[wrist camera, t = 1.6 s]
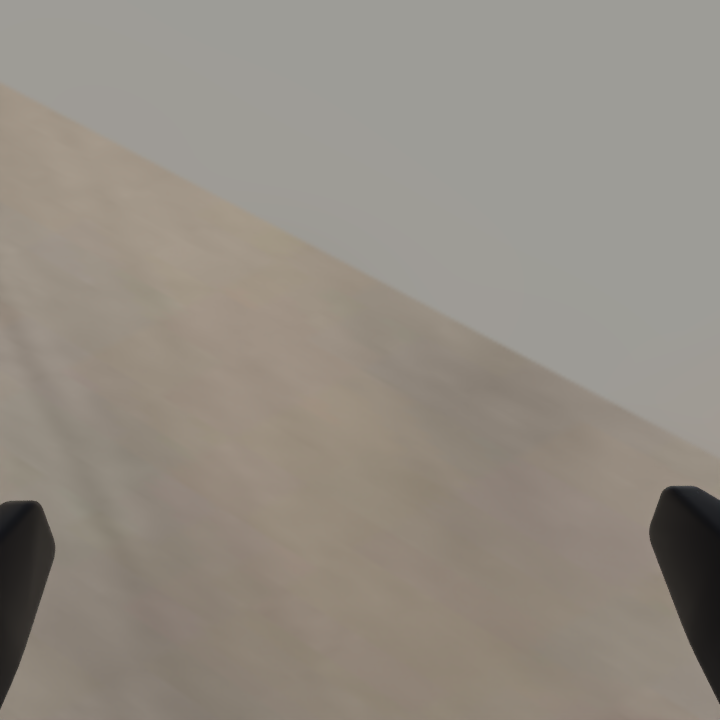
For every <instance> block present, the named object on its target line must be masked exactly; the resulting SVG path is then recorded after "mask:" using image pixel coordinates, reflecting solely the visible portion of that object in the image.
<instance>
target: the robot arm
mask: <svg viewBox="0 0 720 720" xmlns="http://www.w3.org/2000/svg"><path fill="white" fill-rule="evenodd" d="M649 535H650V541H651V545H652V547H653V550H654V553H655V555H656V558H657V560H658V563H659V566H660V568H661V571H662V574H663V576H664V579H665V581H666V584H667V587H668V589H669V592H670V594H671V597H672V600H673V602H674V605H675V608H676V610H677V613H678V615H679V618H680V621H681V623H682V626H683V628H684V631H685V633H686V635H687V638H688V640H689V643H690V645H691V647H692V649H693V651H694V653H695V655H696V657H697V660H698V662H699V664H700V666H701V668H702V670H703V672H704V674H705V676H706V678H707V680H708V682H709V684H710V686H711V688H712V690H713V692H714V694H715V696H716V698H717V700H718V702H719V704H720V500H718V499H717V498H715V497H713V496H712V495H710V494H708V493H706V492H705V491H703V490H701V489H700V488H698V487H695V486H670V487H667V488H665V489H664V490H663V491H662V493H661V496H660V499H659V502H658V504H657V507H656V510H655V513H654V516H653V519H652V521H651V524H650V530H649ZM54 555H55V542H54V538H53V536H52V533H51V530H50V527H49V524H48V522H47V519H46V516H45V513H44V511H43V508H42V506H41V505H40V504H39V503H38V502H36V501H9V502H5V503H3V504H1V505H0V708H1V706H2V704H3V702H4V699H5V697H6V695H7V692H8V690H9V688H10V686H11V683H12V681H13V678H14V676H15V674H16V671H17V669H18V666H19V664H20V661H21V658H22V655H23V652H24V650H25V647H26V644H27V641H28V637H29V634H30V631H31V628H32V625H33V622H34V619H35V616H36V613H37V609H38V606H39V603H40V600H41V597H42V594H43V591H44V588H45V585H46V582H47V578H48V575H49V572H50V569H51V566H52V563H53V560H54Z"/></svg>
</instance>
